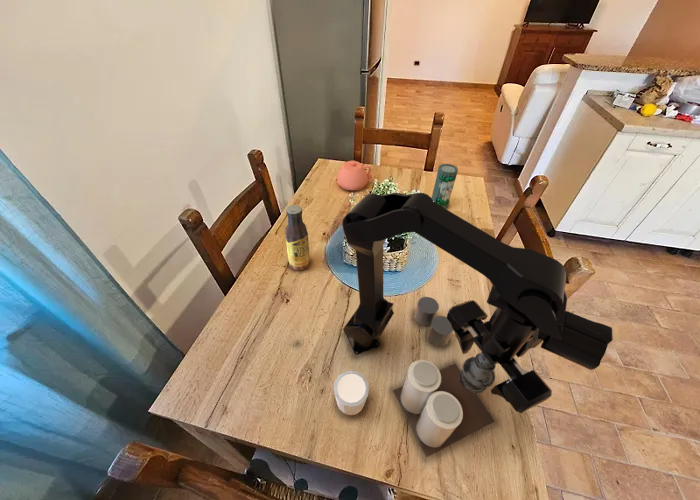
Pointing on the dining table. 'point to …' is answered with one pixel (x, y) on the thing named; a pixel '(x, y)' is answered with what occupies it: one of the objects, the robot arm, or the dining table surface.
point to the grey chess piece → (477, 374)
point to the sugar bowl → (353, 175)
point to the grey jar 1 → (426, 311)
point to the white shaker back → (419, 385)
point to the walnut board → (470, 403)
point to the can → (444, 184)
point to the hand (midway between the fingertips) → (478, 371)
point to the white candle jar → (351, 392)
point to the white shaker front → (439, 419)
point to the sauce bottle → (297, 239)
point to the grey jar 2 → (439, 331)
